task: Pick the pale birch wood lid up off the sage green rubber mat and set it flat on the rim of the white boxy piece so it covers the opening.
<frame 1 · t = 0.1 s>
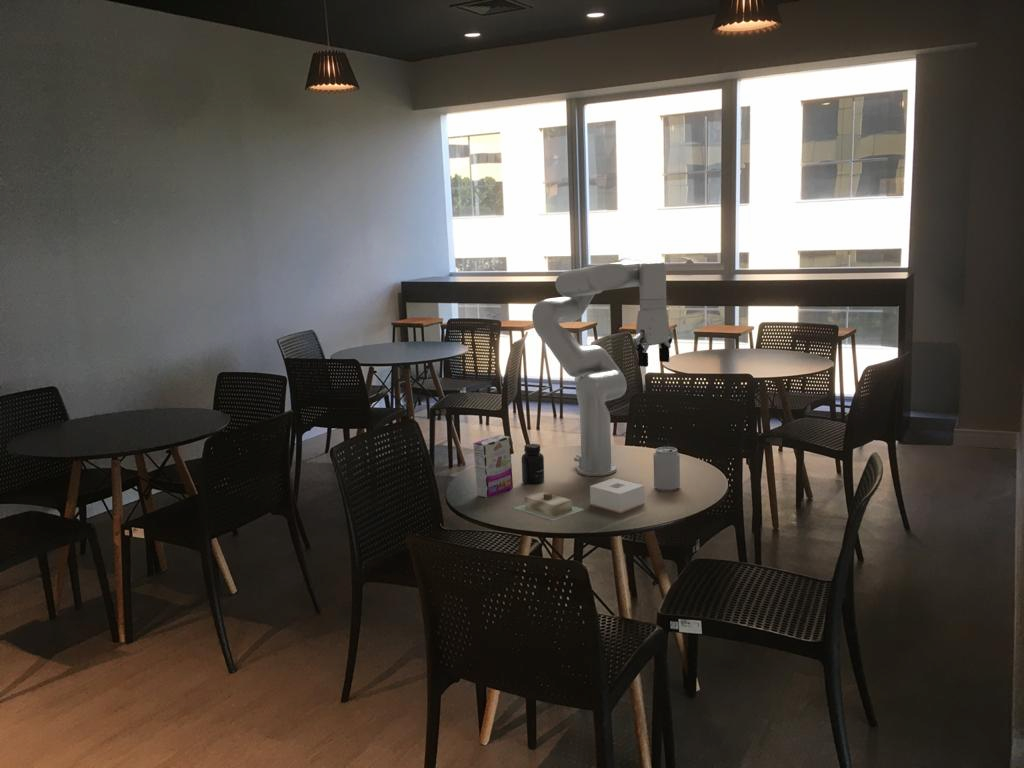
hand: (653, 363, 244), 37 cm above the table, tool pointing down, fingers open, 9 cm apart
candy bar box: (494, 493, 250), on the table
can: (666, 489, 247), on the table
mat: (548, 510, 232), on the table
white boxy piece: (617, 506, 233), on the table
supplement bottle: (533, 483, 258), on the table
lid: (548, 508, 232), point 1 cm above the table, touching mat
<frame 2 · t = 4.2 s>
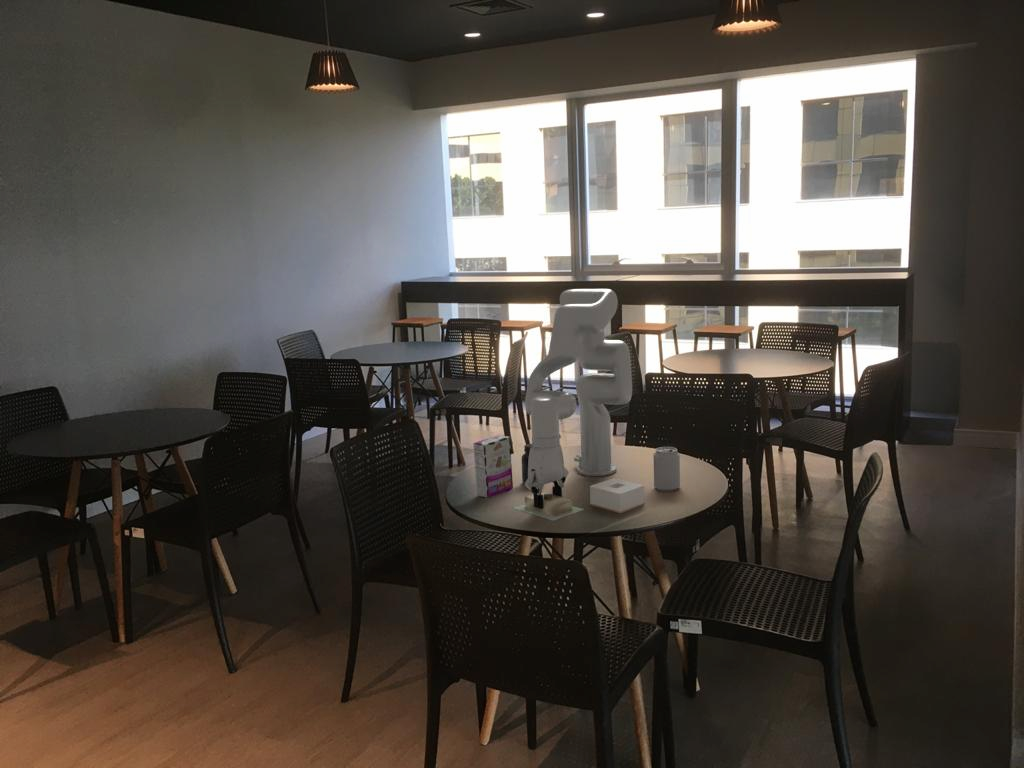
hand: (548, 504, 232), 2 cm above the table, tool pointing down, fingers closed on lid, 6 cm apart
lid: (548, 508, 232), point 1 cm above the table, touching gripper, mat
everything else where it was.
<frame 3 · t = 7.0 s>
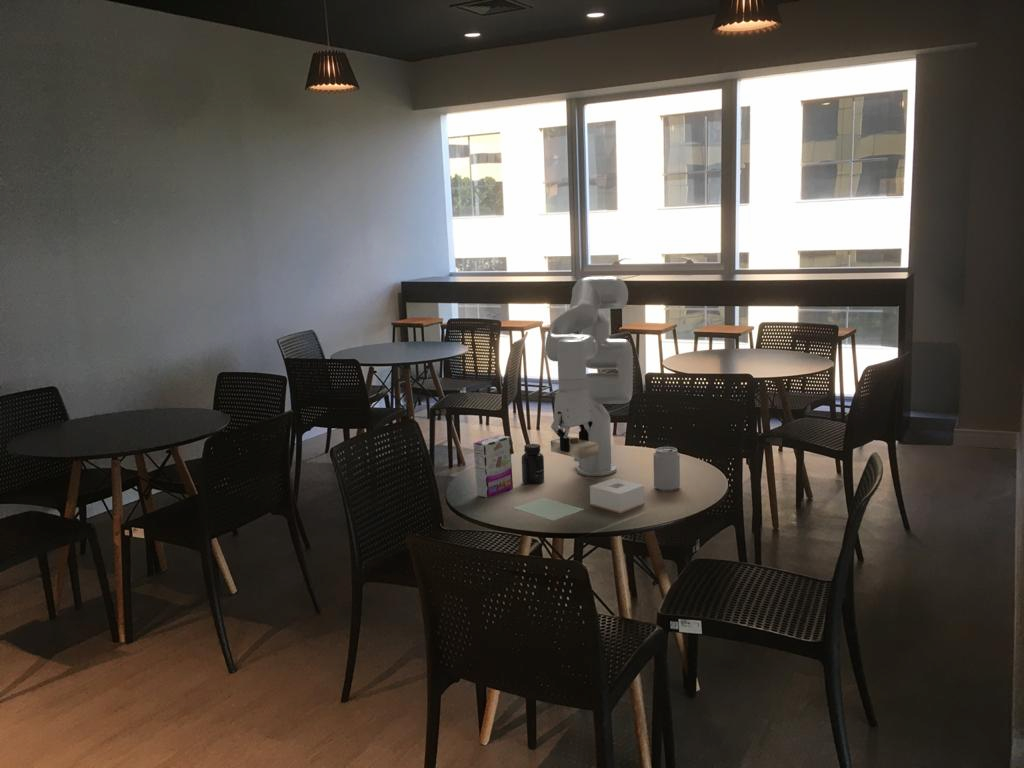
hand: (574, 448, 229), 17 cm above the table, tool pointing down, fingers closed on lid, 6 cm apart
lid: (574, 452, 230), point 16 cm above the table, touching gripper
everything else where it was.
when the fingers open (9 cm above the table, at t = 9.9 s): lid drops 1 cm, resting on white boxy piece.
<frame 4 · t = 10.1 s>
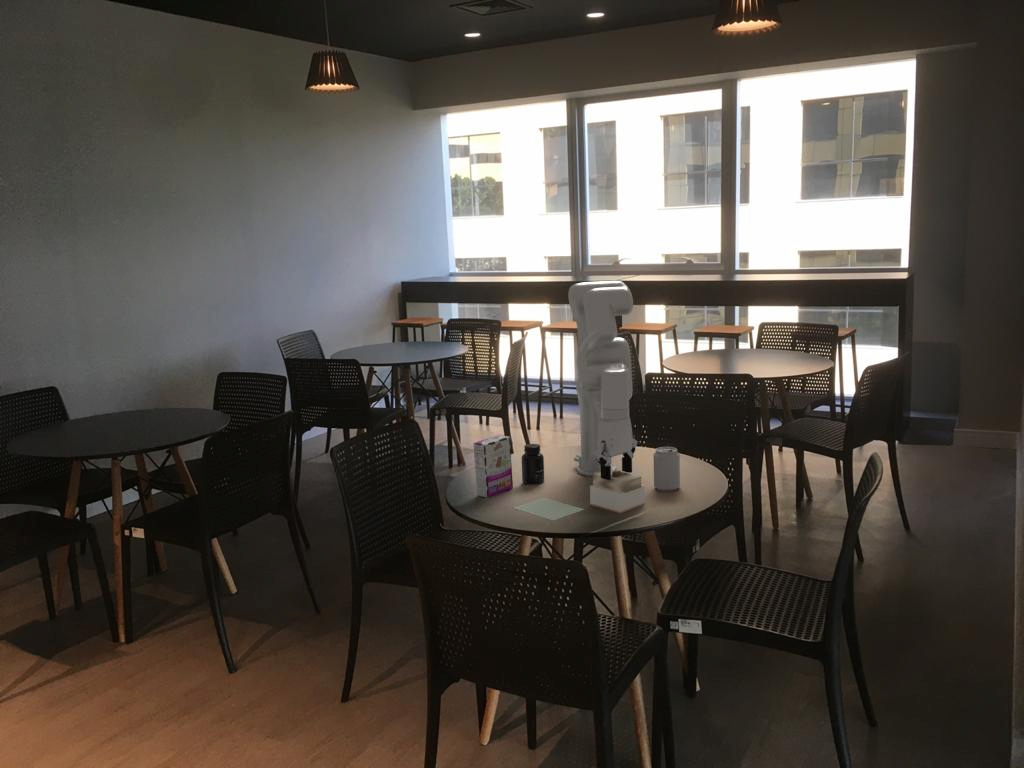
hand: (616, 475, 231), 9 cm above the table, tool pointing down, fingers open, 8 cm apart
lid: (616, 485, 232), point 6 cm above the table, touching white boxy piece
everything else where it was.
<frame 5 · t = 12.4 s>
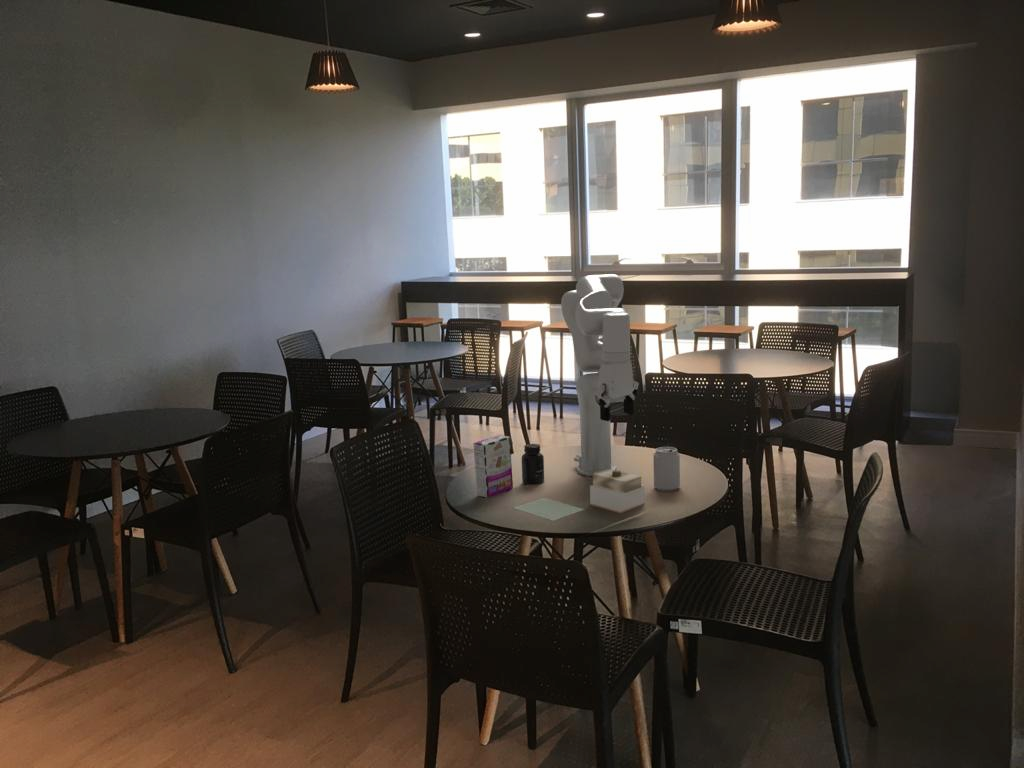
hand: (617, 416, 236), 24 cm above the table, tool pointing down, fingers open, 9 cm apart
nothing on the table moved.
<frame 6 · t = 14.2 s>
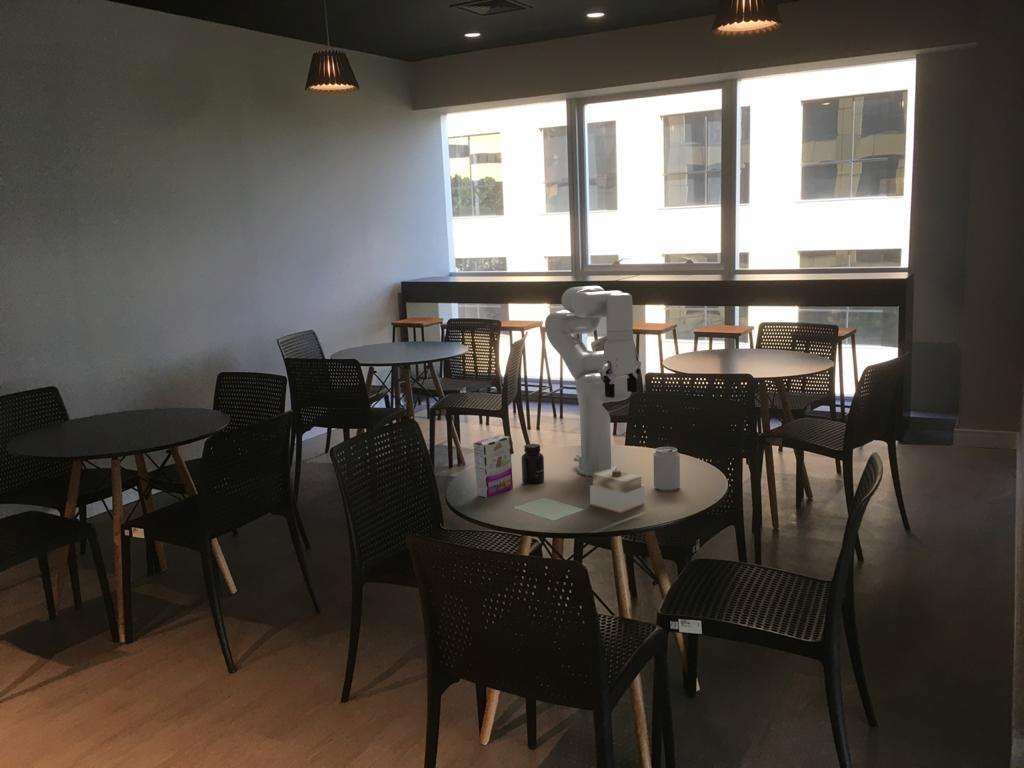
hand: (621, 394, 244), 28 cm above the table, tool pointing down, fingers open, 9 cm apart
nothing on the table moved.
at the end: lid 0.0 cm off-centre on the white boxy piece, point 6.0 cm above the white boxy piece's base; lid tilted 0°; lid touching white boxy piece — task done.
